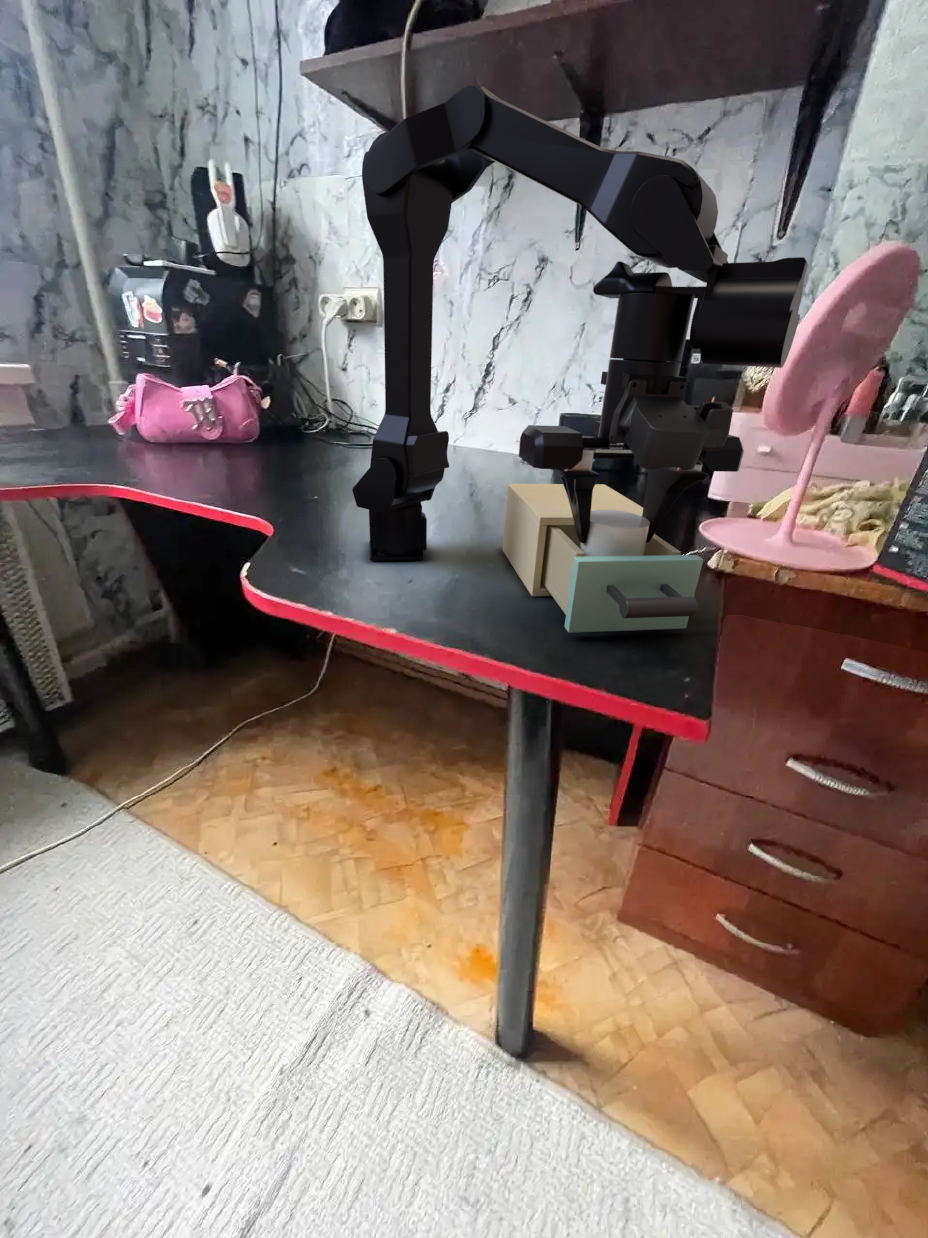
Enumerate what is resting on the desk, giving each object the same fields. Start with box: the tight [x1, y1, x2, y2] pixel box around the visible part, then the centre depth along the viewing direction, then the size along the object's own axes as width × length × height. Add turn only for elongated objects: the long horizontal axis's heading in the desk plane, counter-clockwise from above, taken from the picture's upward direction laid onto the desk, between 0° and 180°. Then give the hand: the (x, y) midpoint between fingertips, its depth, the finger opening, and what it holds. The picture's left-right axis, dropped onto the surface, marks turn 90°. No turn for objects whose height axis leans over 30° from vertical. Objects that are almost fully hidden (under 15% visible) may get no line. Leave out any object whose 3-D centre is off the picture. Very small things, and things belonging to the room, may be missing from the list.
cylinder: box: [580, 510, 650, 557], centre depth 52 cm, size 6×6×4 cm
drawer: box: [541, 525, 704, 634], centre depth 52 cm, size 18×11×7 cm, turn 9°
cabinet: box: [502, 483, 644, 597], centre depth 63 cm, size 15×13×9 cm
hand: (613, 541), depth 52 cm, fingers closed on cylinder, 6 cm apart
